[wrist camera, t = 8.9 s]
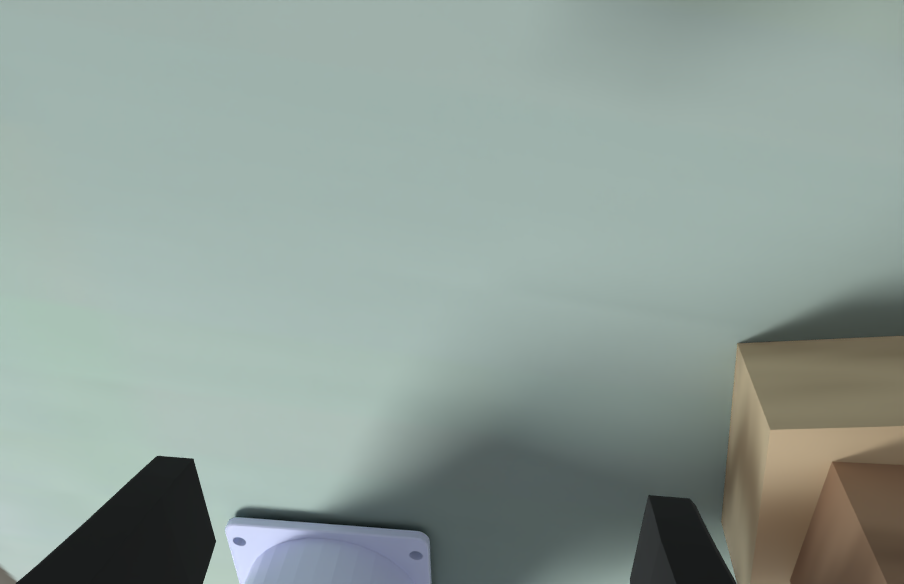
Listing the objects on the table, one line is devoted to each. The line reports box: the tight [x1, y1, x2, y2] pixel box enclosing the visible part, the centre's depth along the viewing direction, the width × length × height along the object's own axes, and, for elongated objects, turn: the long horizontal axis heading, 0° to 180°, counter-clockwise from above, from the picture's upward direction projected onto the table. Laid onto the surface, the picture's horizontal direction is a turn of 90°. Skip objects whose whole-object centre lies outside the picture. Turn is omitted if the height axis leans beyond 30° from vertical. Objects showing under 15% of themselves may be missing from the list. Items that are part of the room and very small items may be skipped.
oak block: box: [721, 336, 904, 584], centre depth 22 cm, size 8×8×4 cm
